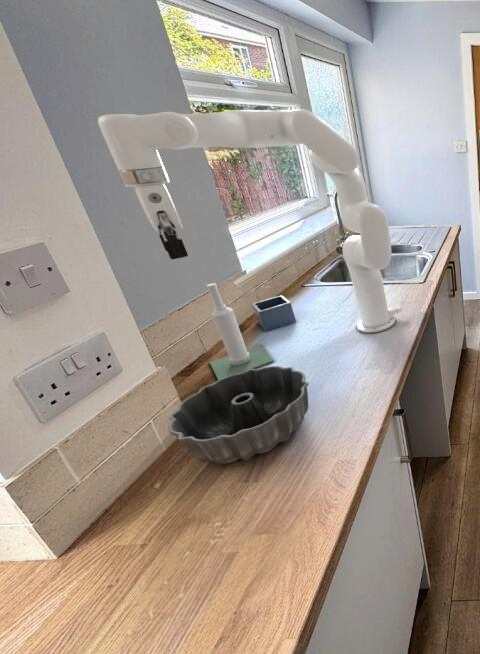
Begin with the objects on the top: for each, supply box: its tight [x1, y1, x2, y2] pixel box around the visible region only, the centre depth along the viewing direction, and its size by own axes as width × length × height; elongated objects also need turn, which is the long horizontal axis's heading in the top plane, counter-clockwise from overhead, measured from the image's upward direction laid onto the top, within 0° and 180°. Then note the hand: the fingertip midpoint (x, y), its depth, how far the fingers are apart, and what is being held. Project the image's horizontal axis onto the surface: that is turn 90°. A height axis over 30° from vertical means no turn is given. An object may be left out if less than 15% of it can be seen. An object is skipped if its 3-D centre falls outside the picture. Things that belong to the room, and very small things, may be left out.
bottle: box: [206, 282, 250, 366], centre depth 116 cm, size 5×5×25 cm
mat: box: [209, 344, 274, 381], centre depth 122 cm, size 14×14×1 cm
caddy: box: [251, 295, 297, 332], centre depth 145 cm, size 10×10×8 cm
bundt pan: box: [167, 365, 310, 464], centre depth 91 cm, size 26×26×10 cm
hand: (176, 253), depth 94 cm, fingers open, 9 cm apart
